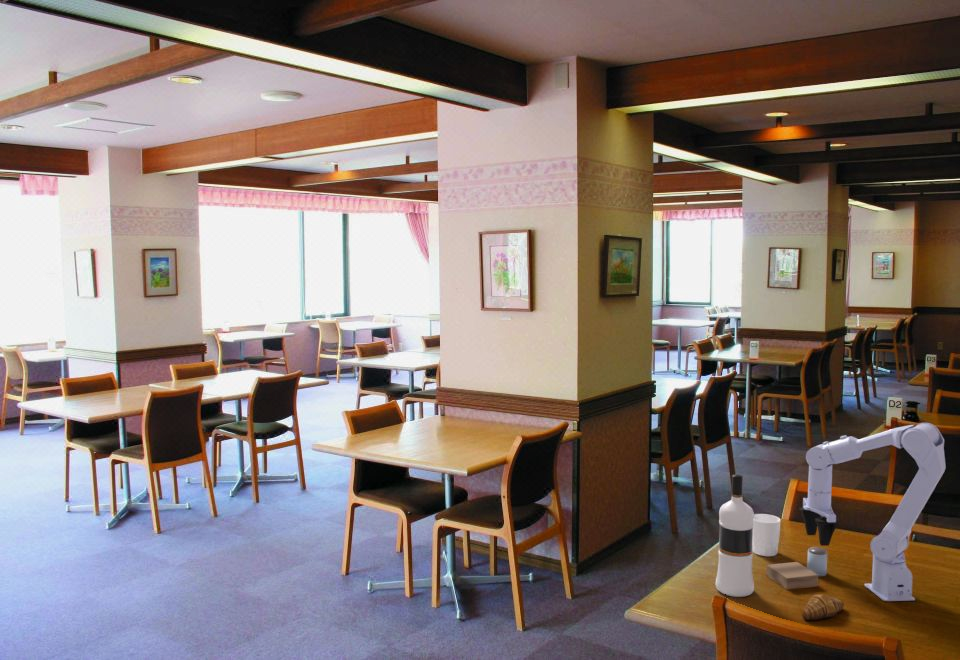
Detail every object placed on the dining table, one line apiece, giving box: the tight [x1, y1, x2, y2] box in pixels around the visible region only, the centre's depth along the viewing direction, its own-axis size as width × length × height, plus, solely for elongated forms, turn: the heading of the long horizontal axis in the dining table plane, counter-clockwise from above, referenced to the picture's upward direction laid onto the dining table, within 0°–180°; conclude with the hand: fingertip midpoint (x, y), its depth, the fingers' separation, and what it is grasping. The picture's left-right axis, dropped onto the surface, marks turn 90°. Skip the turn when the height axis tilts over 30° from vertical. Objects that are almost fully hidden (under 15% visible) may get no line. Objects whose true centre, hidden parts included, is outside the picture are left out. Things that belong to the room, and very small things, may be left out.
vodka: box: [715, 473, 755, 598], centre depth 199 cm, size 9×9×30 cm
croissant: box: [801, 594, 845, 621], centre depth 187 cm, size 14×7×5 cm, turn 120°
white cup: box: [752, 513, 781, 557], centre depth 226 cm, size 8×8×10 cm
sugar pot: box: [806, 546, 828, 577], centre depth 212 cm, size 5×5×6 cm
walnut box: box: [765, 561, 819, 590], centre depth 206 cm, size 9×9×3 cm
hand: (817, 539), depth 211 cm, fingers open, 7 cm apart
